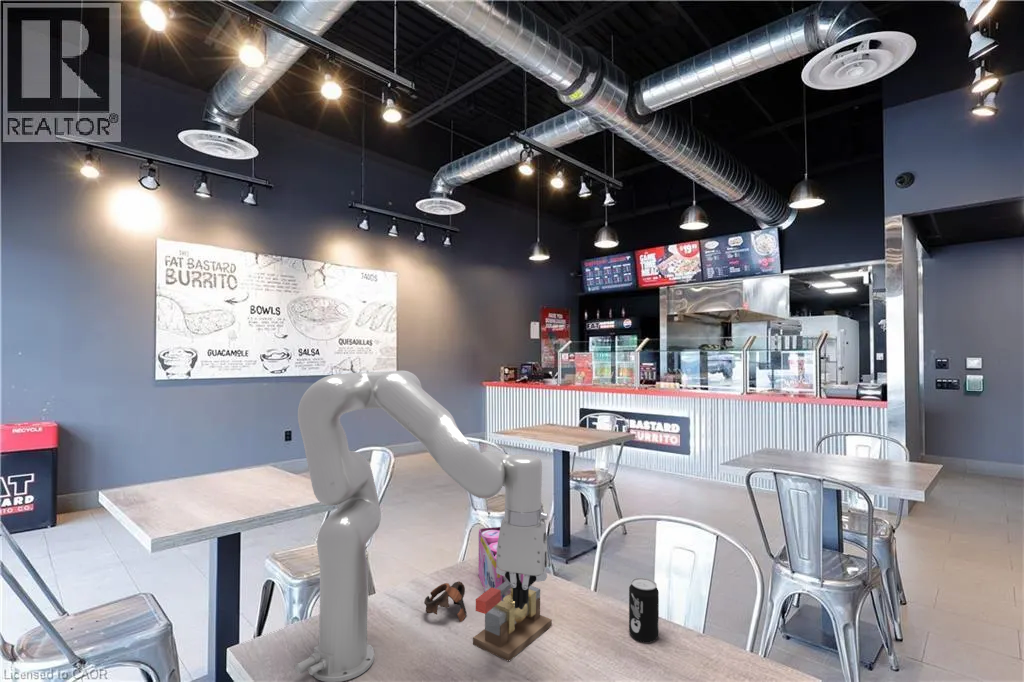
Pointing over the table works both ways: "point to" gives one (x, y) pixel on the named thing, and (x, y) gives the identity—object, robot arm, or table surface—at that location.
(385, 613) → the table surface
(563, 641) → the table surface
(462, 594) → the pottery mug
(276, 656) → the table surface
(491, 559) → the gum box
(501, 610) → the ball valve
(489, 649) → the valve board
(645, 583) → the beverage can
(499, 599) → the lever
